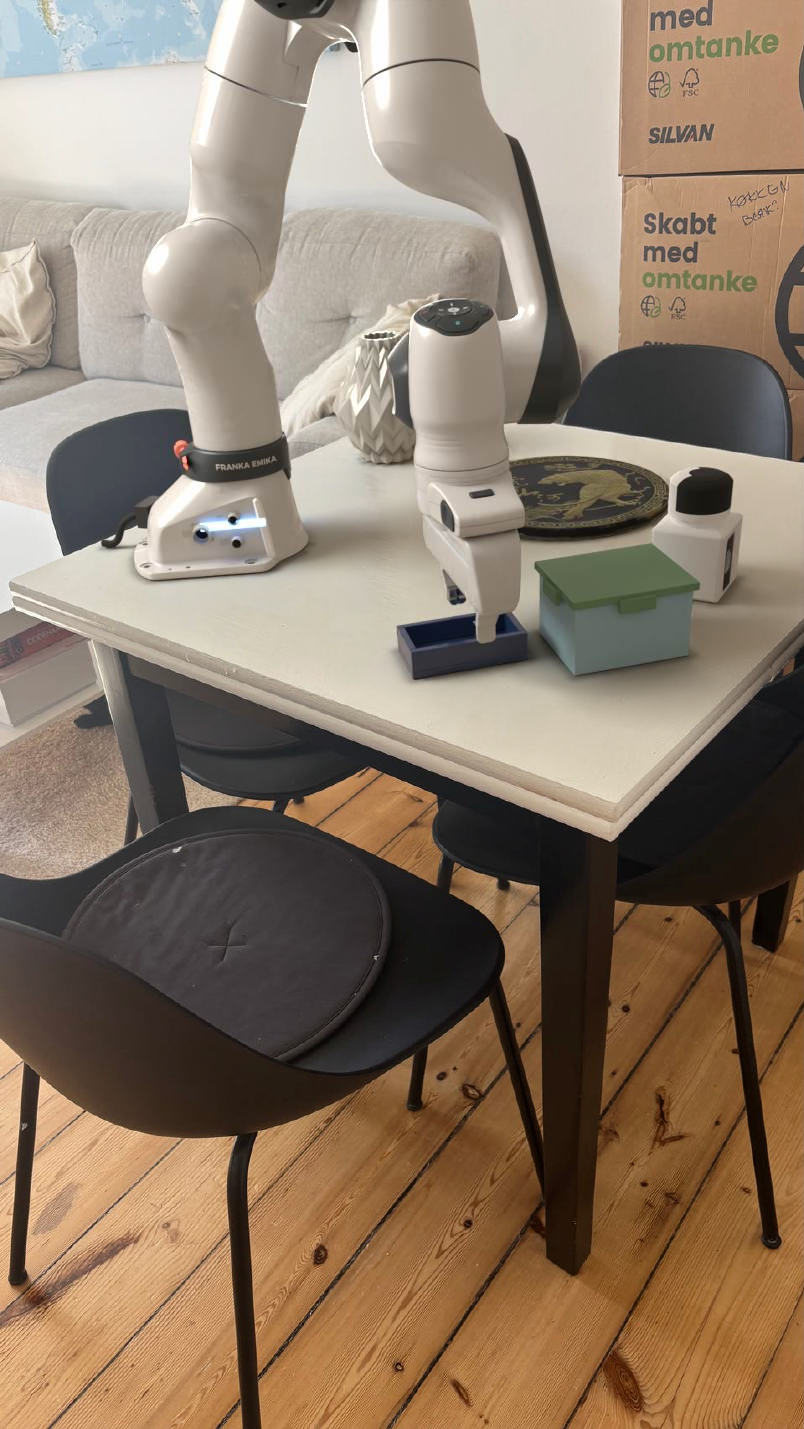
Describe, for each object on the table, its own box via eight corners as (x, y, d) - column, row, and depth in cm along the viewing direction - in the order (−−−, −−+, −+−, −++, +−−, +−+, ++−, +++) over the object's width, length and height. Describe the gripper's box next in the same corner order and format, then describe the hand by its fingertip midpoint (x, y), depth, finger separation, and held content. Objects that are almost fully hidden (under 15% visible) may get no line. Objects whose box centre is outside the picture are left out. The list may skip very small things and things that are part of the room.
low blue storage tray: (412, 679, 104) (411, 652, 102) (398, 651, 109) (396, 625, 108) (528, 659, 106) (528, 632, 104) (508, 632, 111) (508, 607, 110)
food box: (569, 681, 102) (570, 605, 97) (529, 631, 111) (529, 560, 107) (699, 658, 104) (706, 583, 100) (649, 610, 114) (653, 541, 110)
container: (737, 577, 119) (748, 465, 113) (717, 604, 114) (728, 488, 107) (670, 567, 123) (677, 458, 116) (648, 593, 117) (654, 480, 111)
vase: (323, 453, 171) (311, 334, 162) (415, 435, 176) (408, 319, 167) (360, 480, 158) (349, 353, 149) (458, 460, 163) (453, 336, 154)
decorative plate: (450, 534, 132) (446, 459, 157) (451, 548, 133) (447, 472, 158) (693, 522, 130) (649, 449, 156) (691, 537, 131) (648, 462, 157)
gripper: (402, 461, 107) (413, 586, 114) (462, 527, 90) (470, 669, 97) (462, 452, 108) (468, 576, 115) (532, 515, 91) (535, 657, 98)
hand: (469, 620), depth 106 cm, fingers open, 8 cm apart
